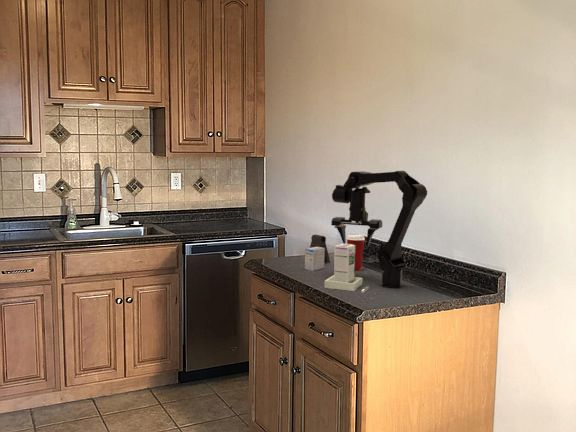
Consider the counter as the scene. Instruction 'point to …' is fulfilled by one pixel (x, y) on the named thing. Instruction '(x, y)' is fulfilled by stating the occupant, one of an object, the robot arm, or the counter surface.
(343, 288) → the tray
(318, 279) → the counter surface
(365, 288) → the rod
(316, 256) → the medicine box
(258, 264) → the counter surface
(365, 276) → the counter surface
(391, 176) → the robot arm
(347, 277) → the syrup box
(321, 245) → the phone stand
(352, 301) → the counter surface
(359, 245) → the paper cup
